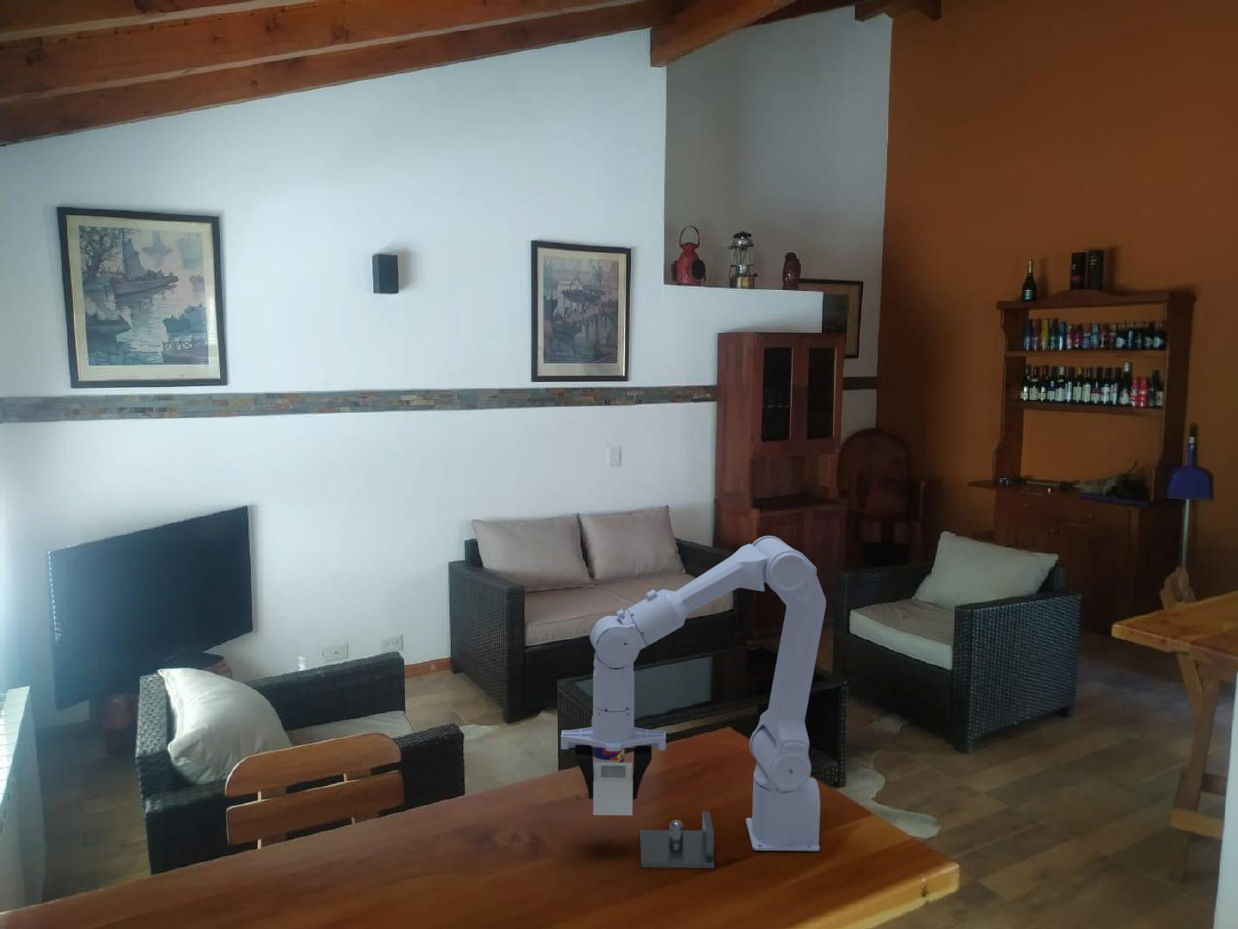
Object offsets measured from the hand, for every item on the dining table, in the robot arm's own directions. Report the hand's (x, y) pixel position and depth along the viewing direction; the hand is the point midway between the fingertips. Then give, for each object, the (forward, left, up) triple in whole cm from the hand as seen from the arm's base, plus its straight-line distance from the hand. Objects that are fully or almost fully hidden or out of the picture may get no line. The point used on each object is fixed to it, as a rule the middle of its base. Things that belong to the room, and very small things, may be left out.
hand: (613, 795), depth 125 cm
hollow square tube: (0, 0, -1) cm, 1 cm away
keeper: (-9, 0, -8) cm, 12 cm away
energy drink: (+1, -19, -9) cm, 21 cm away
